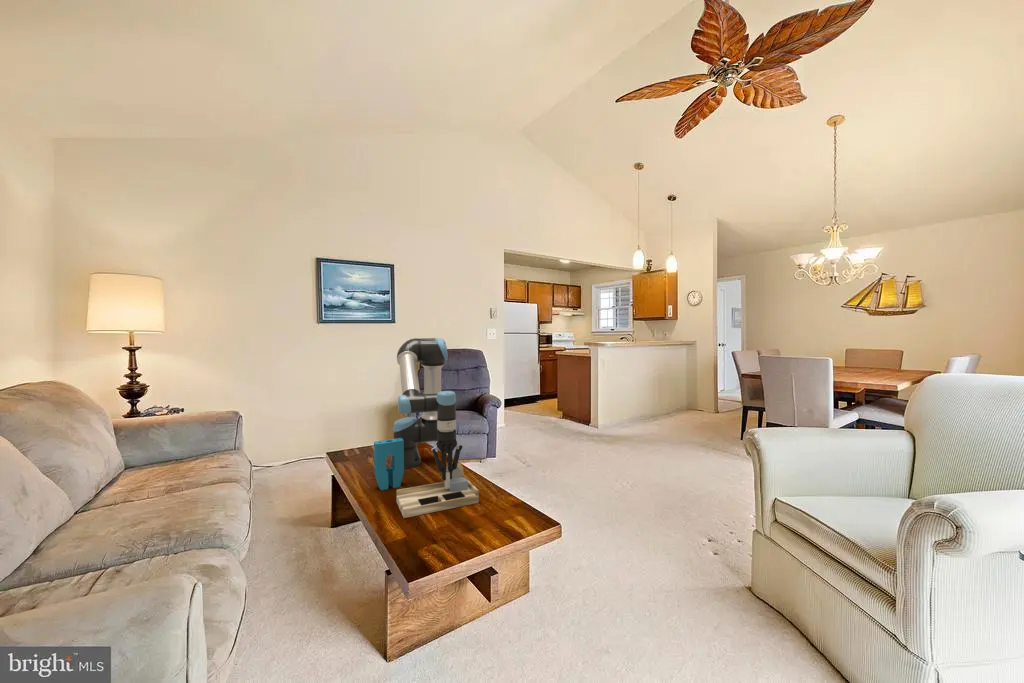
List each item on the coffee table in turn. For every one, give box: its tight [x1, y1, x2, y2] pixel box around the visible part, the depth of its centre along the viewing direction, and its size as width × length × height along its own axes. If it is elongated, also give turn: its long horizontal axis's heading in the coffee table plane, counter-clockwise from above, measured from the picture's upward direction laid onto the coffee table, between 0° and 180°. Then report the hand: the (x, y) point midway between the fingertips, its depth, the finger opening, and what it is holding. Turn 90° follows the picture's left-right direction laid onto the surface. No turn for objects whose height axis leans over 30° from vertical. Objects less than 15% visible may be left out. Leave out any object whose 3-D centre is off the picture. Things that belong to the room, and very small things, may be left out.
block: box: [449, 476, 468, 492], centre depth 162 cm, size 5×7×4 cm
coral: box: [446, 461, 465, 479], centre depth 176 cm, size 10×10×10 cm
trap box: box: [396, 477, 480, 519], centre depth 155 cm, size 15×29×5 cm, turn 116°
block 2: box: [373, 438, 405, 491], centre depth 172 cm, size 12×5×20 cm, turn 119°
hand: (447, 487), depth 160 cm, fingers closed
